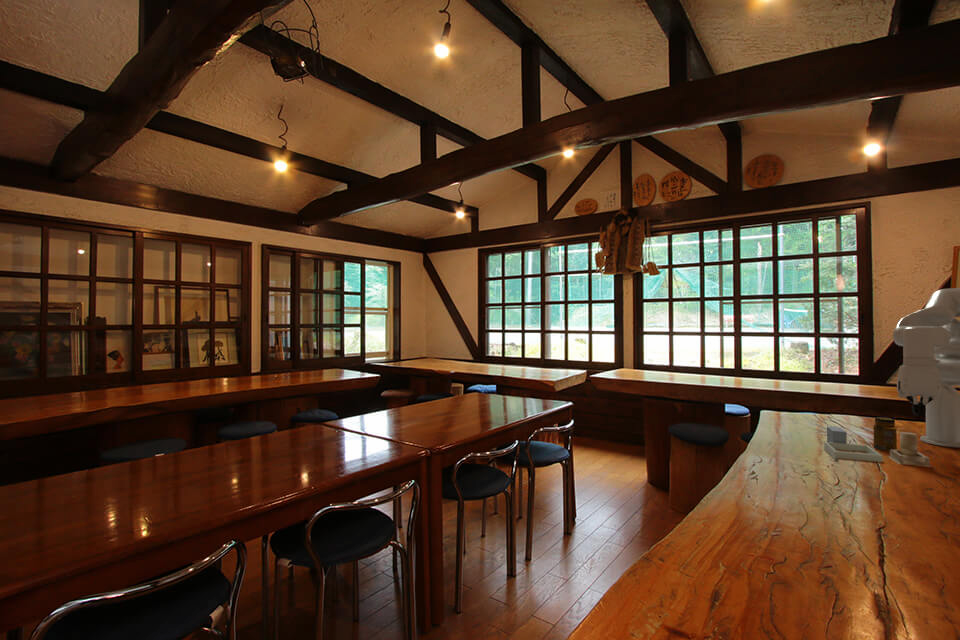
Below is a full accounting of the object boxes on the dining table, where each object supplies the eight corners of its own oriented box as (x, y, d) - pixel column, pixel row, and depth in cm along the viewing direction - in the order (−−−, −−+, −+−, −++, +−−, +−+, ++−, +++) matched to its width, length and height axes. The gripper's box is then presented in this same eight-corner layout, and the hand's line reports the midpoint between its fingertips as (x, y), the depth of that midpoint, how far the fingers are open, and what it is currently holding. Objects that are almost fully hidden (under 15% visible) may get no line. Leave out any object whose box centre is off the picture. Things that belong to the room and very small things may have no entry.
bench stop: (840, 445, 162) (840, 427, 162) (846, 451, 156) (846, 431, 156) (827, 444, 164) (826, 426, 164) (832, 450, 157) (832, 430, 157)
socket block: (919, 462, 143) (919, 451, 143) (931, 470, 136) (931, 458, 136) (887, 459, 147) (887, 448, 147) (898, 466, 139) (898, 455, 139)
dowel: (914, 460, 142) (913, 432, 142) (920, 464, 139) (919, 435, 139) (898, 458, 144) (897, 431, 144) (903, 462, 140) (903, 434, 140)
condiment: (899, 451, 154) (898, 418, 154) (898, 457, 148) (897, 422, 148) (871, 447, 160) (871, 415, 159) (869, 453, 154) (868, 419, 154)
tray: (868, 453, 153) (867, 445, 153) (882, 465, 141) (882, 455, 141) (824, 449, 158) (824, 441, 158) (835, 460, 147) (834, 451, 147)
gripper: (942, 362, 150) (942, 415, 150) (885, 360, 156) (886, 411, 156) (954, 364, 143) (954, 420, 143) (894, 362, 149) (895, 415, 149)
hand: (918, 415), depth 150 cm, fingers closed
